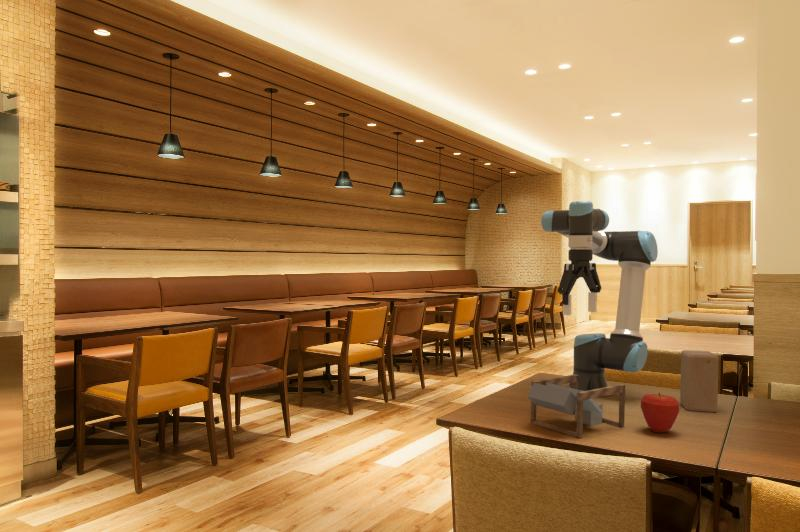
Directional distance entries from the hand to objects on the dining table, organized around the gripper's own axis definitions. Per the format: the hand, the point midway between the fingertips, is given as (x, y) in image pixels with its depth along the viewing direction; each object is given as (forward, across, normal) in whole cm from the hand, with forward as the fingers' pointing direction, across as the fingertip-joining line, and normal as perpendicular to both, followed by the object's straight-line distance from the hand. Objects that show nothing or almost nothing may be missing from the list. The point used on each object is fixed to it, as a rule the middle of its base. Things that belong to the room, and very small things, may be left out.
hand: (579, 313), depth 191 cm
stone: (+31, -5, -5) cm, 32 cm away
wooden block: (+36, +46, -16) cm, 61 cm away
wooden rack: (+34, -8, -5) cm, 35 cm away
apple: (+35, +7, -24) cm, 43 cm away
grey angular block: (+30, -17, -5) cm, 34 cm away
